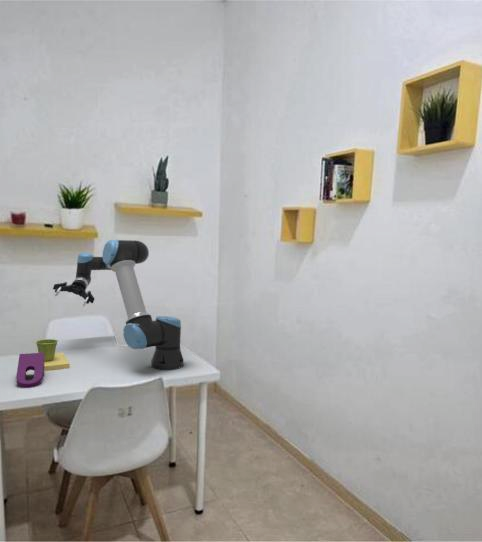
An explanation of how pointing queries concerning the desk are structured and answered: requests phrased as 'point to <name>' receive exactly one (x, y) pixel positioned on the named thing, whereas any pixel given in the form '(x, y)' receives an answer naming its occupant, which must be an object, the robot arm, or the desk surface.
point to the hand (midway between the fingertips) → (70, 298)
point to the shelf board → (57, 362)
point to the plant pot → (47, 348)
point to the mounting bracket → (30, 363)
